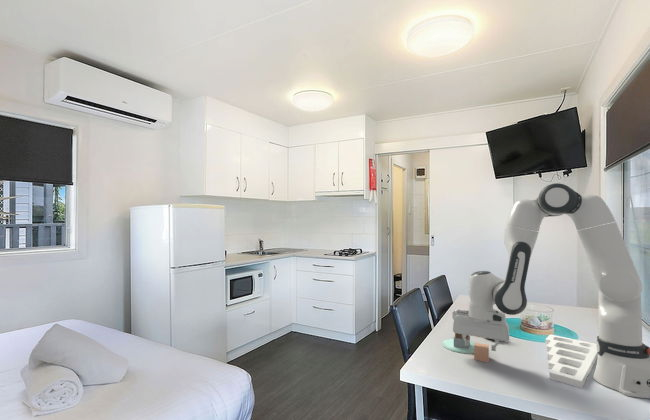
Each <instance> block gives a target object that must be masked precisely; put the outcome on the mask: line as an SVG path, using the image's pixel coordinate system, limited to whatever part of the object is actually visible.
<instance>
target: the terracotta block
mask: <svg viewBox="0 0 650 420" xmlns="http://www.w3.org/2000/svg"><path fill="white" fill-rule="evenodd" d="M489 349H490V347H489V344H487V343H480V342H475V344H474V354H473V360H474V361H481V362H486V363H489V360H490V359H489V358H490V357H489V354H490V353H489V352H490V350H489Z"/></svg>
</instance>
